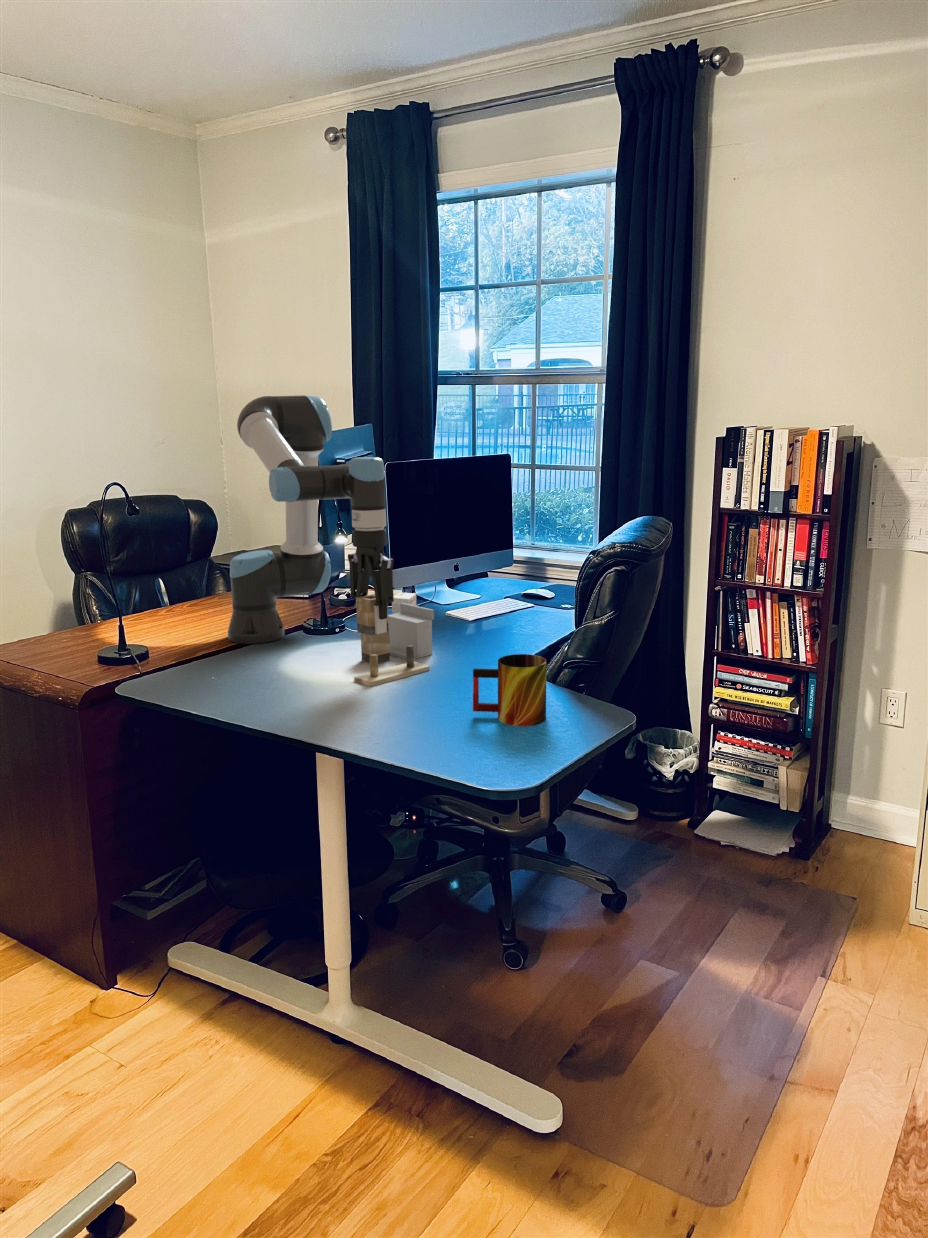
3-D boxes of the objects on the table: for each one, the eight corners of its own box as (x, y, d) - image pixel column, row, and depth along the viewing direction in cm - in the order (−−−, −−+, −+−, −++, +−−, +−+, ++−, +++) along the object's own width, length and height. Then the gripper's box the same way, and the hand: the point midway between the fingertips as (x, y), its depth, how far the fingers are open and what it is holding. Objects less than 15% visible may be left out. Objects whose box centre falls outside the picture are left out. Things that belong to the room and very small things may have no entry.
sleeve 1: (357, 631, 203) (356, 597, 201) (374, 628, 207) (373, 594, 205) (371, 635, 200) (369, 600, 198) (388, 631, 203) (387, 596, 201)
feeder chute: (377, 651, 230) (376, 608, 228) (403, 645, 236) (402, 602, 234) (408, 660, 222) (407, 615, 219) (434, 653, 228) (433, 609, 225)
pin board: (354, 681, 206) (353, 655, 204) (413, 665, 218) (412, 641, 217) (370, 686, 201) (369, 660, 200) (429, 670, 214) (429, 645, 212)
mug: (471, 715, 182) (471, 658, 179) (534, 708, 186) (535, 652, 183) (487, 731, 173) (487, 671, 170) (553, 723, 177) (554, 664, 174)
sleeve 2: (361, 660, 223) (360, 629, 221) (377, 656, 226) (376, 625, 224) (374, 664, 219) (373, 632, 217) (390, 660, 222) (389, 628, 221)
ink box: (410, 641, 240) (409, 598, 237) (392, 641, 241) (391, 598, 238) (418, 634, 248) (417, 592, 245) (400, 633, 249) (399, 591, 246)
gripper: (330, 526, 202) (335, 627, 207) (382, 533, 189) (385, 640, 194) (357, 523, 207) (361, 621, 212) (408, 530, 194) (411, 634, 199)
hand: (372, 630), depth 203 cm, fingers closed on sleeve 1, 5 cm apart
